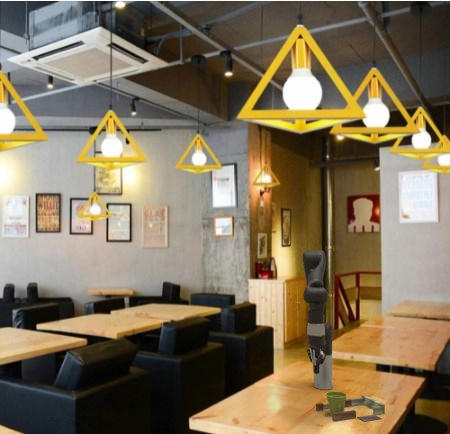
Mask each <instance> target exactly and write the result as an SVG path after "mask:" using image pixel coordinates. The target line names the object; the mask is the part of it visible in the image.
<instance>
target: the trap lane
mask: <svg viewBox="0 0 450 434" xmlns="http://www.w3.org/2000/svg"><path fill="white" fill-rule="evenodd" d="M359 406H365V407H367V408H369V409H370V410H372V414H370V415H364V416H363V415H362V416H357V411H356V410H355V409H352V410H346V411H345V410H344V412H337V413H332V415H331V420H332V421H333V422H339V421H345V420H351V419H352V420H353V419H358V420H360V421H362V422H364V423H365V422H373V421H377V420H382V417H380V416H379V415H385V414H386V412H385V410H386V406H385V404H384V403H382V402H380V401H379V400H375V399H374V398H371V397H369V396H367V395H366V394H361V397H354V398H348V399H347V398H346V400H345V407H344V409H345V408H349V407H359ZM324 410H329V405H328V403H323V402H319V403H318V402H316V403H315V411H316V412H323V411H324Z"/></svg>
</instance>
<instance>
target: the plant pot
mask: <svg viewBox="0 0 450 434" xmlns="http://www.w3.org/2000/svg"><path fill="white" fill-rule="evenodd" d="M325 396H326V400H327V404H328V405H329V409H328V411H329V414H330V415H331V416H332V413H337V412H344V411H345V408H346V407H345V400H346V399H347V397H348V394H347V393H346V392H343V391H339V390H338V391H335V390H334V391H333V390H332V391H327V392H325ZM344 407H345V408H344Z"/></svg>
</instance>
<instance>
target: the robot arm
mask: <svg viewBox="0 0 450 434" xmlns="http://www.w3.org/2000/svg"><path fill="white" fill-rule="evenodd" d="M326 259H327V258H326V253H325V251H324V250H322V249H316V250H315V249H314V250H305V251H303V252H302V263H303V269H304V276H305V281H306V283H305V284H306V287H305V288H304V291H303V293H302V294H303V301H304V302H305V303H306V304H308V310H307V327H306V328H307V330H306V331H307V332H306V333H307V345H308V346H309V348H307V349H306V353H307V355H308V358H309V361H310V363H311V364H312V370H313V371H312V372H313V386H314V388H315V389H317V390H331V389H333V325H332V323H330V322H325V308H326V305H327V302H328V297H329V291H328V290H327V289H326V288H325V287H324V275H325V270H326V266H327V265H326V264H327V260H326Z"/></svg>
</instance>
